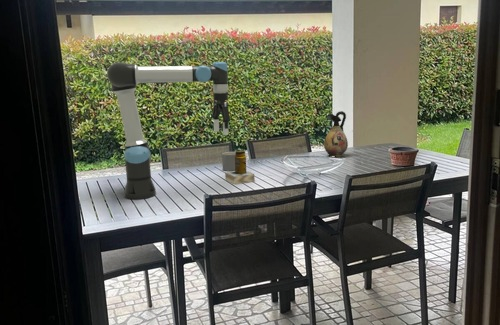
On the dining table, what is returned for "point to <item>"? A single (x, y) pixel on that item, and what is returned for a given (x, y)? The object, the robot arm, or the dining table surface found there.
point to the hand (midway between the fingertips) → (221, 133)
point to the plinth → (239, 177)
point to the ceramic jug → (336, 137)
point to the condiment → (240, 163)
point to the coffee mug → (228, 161)
